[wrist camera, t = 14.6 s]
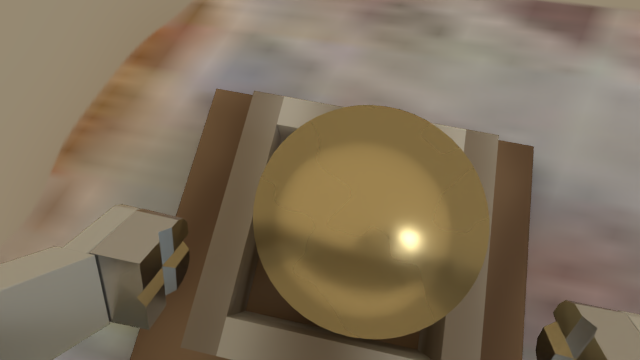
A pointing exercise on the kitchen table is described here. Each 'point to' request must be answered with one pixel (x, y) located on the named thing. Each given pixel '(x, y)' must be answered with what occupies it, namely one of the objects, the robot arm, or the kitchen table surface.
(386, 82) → the kitchen table surface
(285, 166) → the gold metal cylinder
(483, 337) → the socket board
